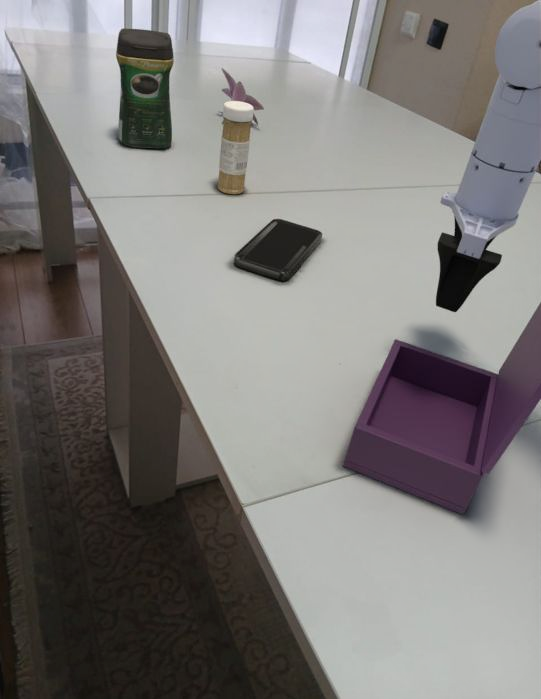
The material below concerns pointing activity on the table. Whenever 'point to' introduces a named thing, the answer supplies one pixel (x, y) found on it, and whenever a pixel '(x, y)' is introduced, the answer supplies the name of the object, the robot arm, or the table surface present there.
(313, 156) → the table surface
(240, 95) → the lily
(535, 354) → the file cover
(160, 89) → the coffee jar
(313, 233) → the phone
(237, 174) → the sprinkles bottle
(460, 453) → the box
